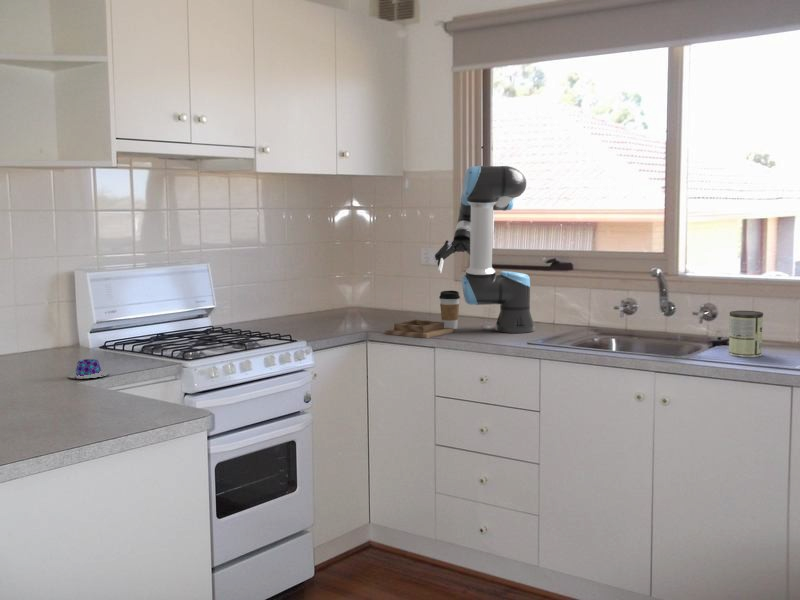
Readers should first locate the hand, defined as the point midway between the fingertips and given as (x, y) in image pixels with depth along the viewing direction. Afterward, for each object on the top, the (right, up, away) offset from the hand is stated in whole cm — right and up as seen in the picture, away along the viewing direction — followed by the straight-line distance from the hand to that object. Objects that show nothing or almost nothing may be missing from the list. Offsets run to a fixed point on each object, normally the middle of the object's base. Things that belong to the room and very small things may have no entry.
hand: (455, 272), depth 366 cm
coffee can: (+91, -30, -75) cm, 121 cm away
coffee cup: (-3, -23, -8) cm, 25 cm away
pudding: (-117, -35, -99) cm, 157 cm away
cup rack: (-16, -24, -20) cm, 35 cm away
